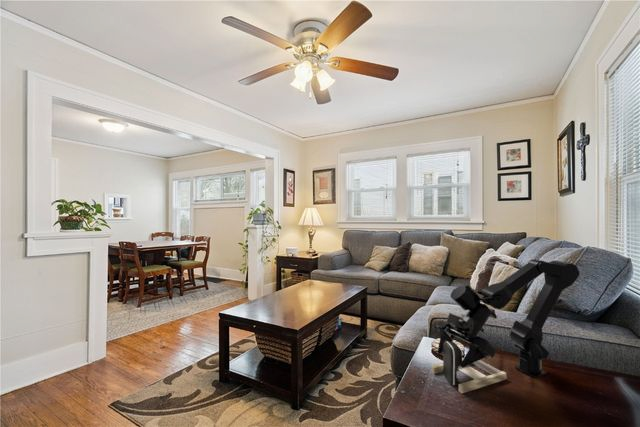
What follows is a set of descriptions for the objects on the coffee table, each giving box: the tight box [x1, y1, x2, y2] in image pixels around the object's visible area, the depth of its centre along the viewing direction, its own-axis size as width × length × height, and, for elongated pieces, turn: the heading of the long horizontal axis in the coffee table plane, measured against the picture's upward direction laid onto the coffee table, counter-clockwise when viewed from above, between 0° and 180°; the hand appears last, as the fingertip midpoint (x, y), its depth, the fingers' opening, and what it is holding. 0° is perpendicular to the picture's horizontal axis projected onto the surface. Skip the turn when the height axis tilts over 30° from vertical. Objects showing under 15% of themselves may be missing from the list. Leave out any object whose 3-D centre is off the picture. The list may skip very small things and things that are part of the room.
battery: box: [442, 341, 463, 386], centre depth 94 cm, size 7×4×11 cm, turn 178°
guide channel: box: [430, 357, 507, 394], centre depth 96 cm, size 19×12×2 cm, turn 112°
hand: (449, 359), depth 93 cm, fingers open, 9 cm apart
